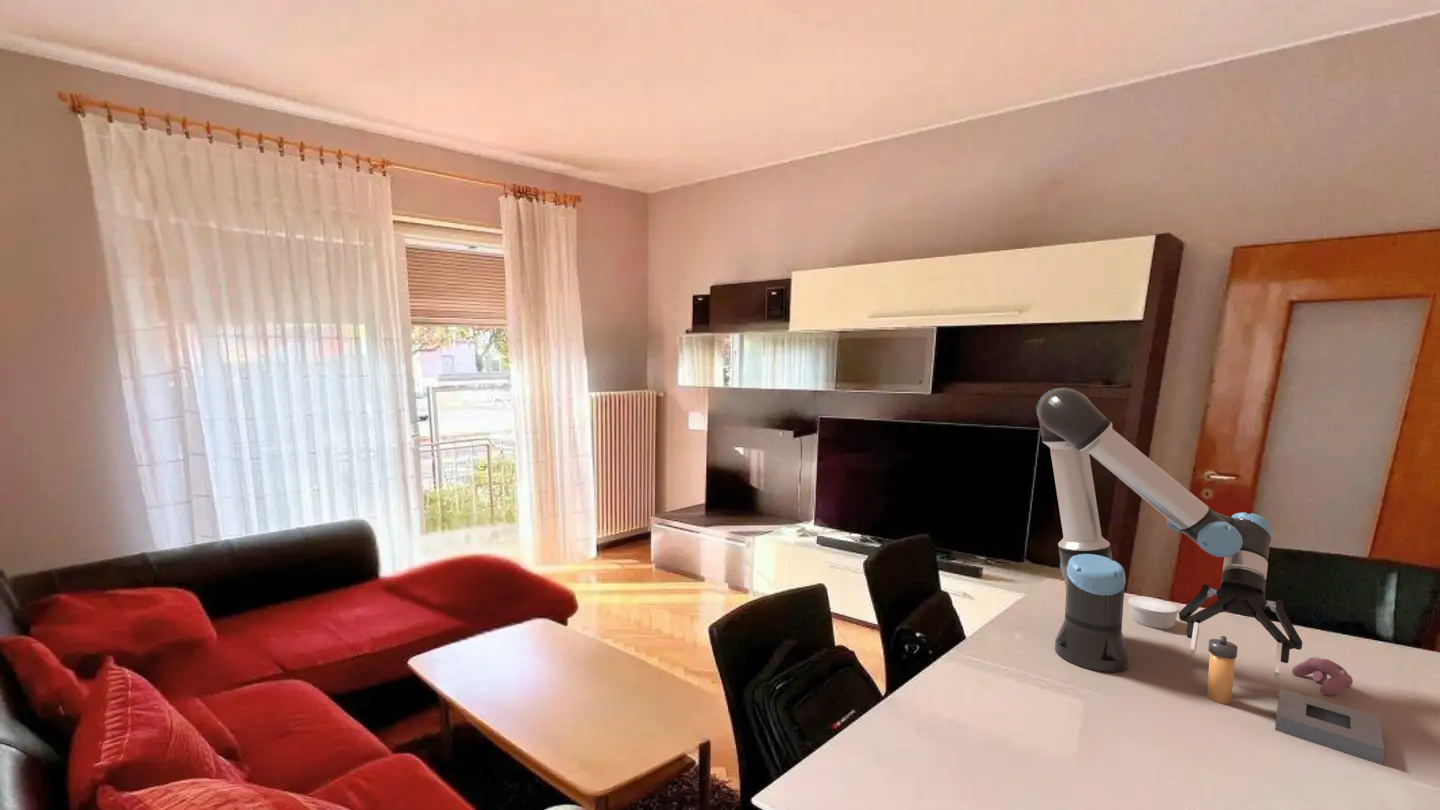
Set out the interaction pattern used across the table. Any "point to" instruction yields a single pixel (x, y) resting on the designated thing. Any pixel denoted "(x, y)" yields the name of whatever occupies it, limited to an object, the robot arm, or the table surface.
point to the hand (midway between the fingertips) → (1233, 663)
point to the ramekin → (1153, 612)
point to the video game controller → (1325, 674)
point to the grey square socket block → (1330, 725)
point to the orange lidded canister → (1221, 670)
